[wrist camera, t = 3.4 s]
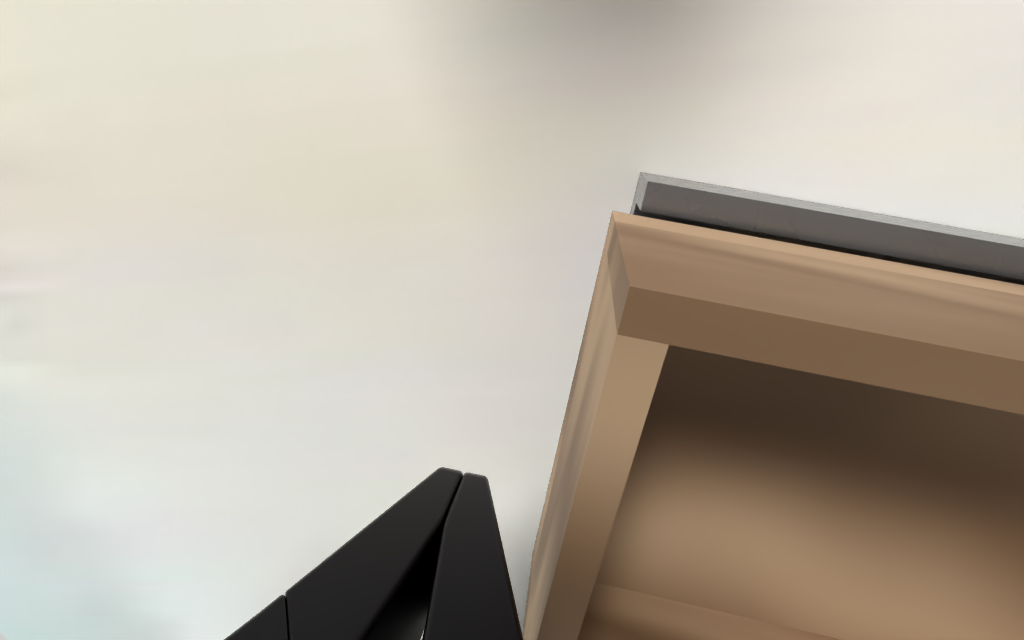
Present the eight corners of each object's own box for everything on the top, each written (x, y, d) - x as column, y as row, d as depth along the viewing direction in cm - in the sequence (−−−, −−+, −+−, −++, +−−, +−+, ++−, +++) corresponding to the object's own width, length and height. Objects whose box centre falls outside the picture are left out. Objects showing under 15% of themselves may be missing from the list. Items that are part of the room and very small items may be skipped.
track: (1289, 678, 14) (1370, 744, 13) (555, 514, 16) (552, 556, 14) (1686, 355, 10) (1873, 396, 9) (640, 172, 12) (648, 181, 10)
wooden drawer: (1016, 627, 14) (1287, 955, 8) (536, 519, 15) (507, 753, 9) (1271, 319, 10) (2042, 555, 5) (609, 200, 11) (630, 286, 6)
